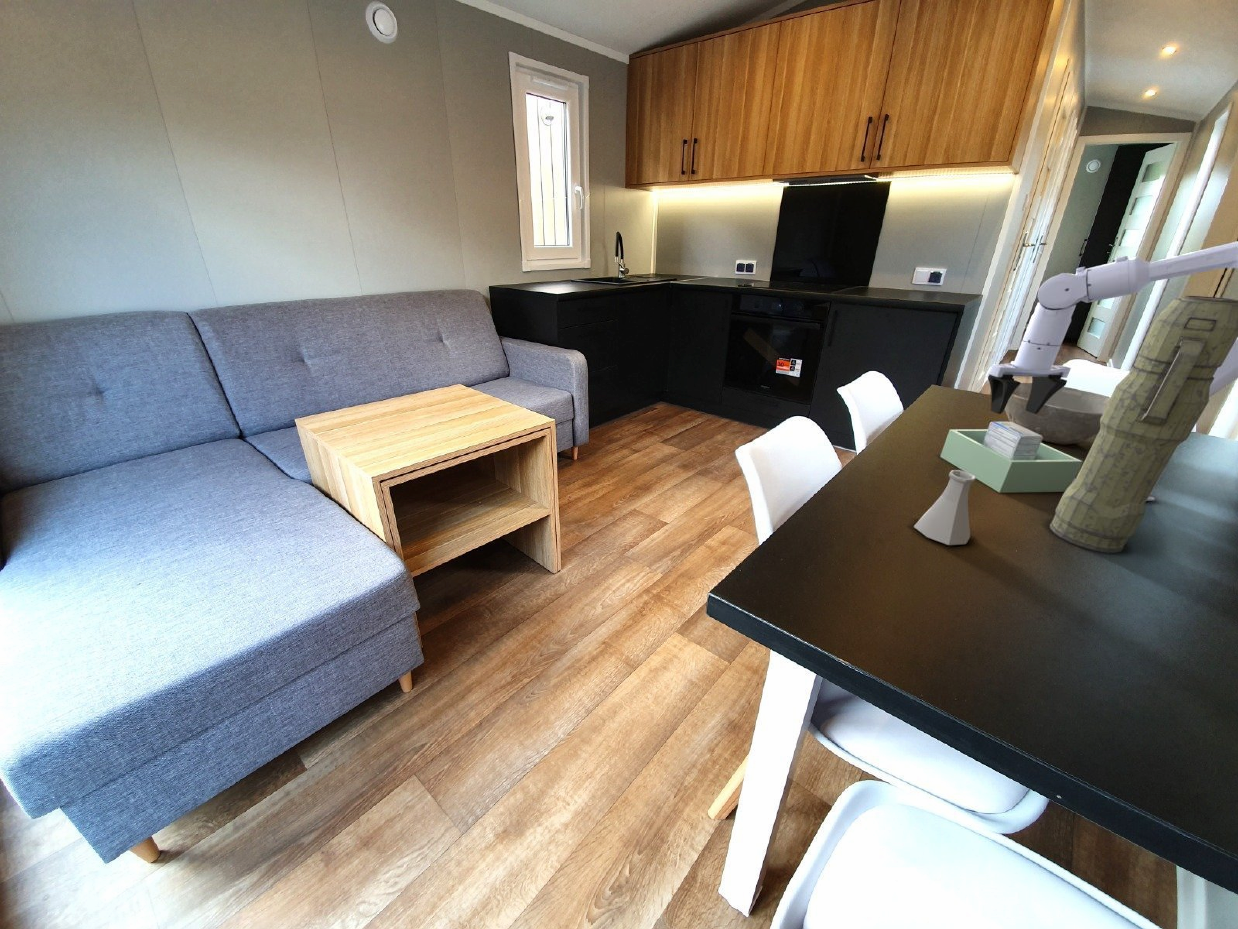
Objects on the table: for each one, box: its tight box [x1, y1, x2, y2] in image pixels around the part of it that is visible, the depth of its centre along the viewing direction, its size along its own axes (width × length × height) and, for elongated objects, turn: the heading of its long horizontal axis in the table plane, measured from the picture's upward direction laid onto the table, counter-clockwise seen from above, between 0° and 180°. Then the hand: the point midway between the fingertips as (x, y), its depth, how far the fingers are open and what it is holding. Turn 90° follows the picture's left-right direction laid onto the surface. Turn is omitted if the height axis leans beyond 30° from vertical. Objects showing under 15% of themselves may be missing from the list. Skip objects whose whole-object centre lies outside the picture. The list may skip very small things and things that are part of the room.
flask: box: [913, 469, 977, 546], centre depth 73 cm, size 7×7×10 cm
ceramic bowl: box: [1004, 382, 1111, 445], centre depth 112 cm, size 22×23×10 cm
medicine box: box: [982, 421, 1043, 460], centre depth 93 cm, size 8×4×9 cm, turn 1°
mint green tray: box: [940, 428, 1083, 494], centre depth 94 cm, size 14×16×6 cm
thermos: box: [1049, 295, 1238, 554], centre depth 68 cm, size 9×12×35 cm
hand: (1013, 412), depth 97 cm, fingers open, 7 cm apart
